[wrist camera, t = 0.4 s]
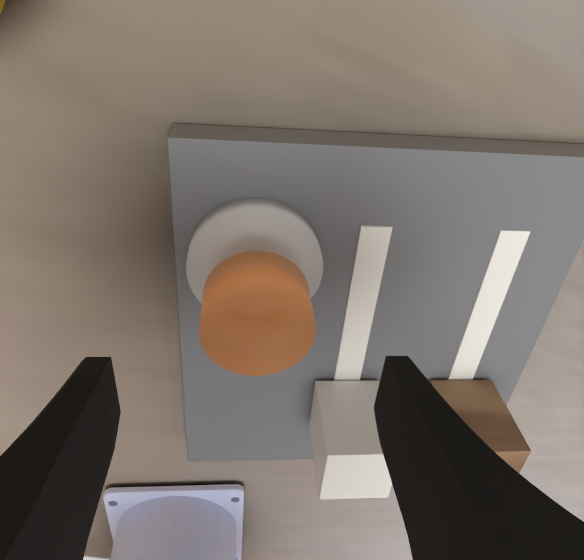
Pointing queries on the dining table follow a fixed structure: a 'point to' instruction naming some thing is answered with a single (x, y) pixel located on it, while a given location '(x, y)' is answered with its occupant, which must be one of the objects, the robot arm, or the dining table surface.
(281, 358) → the button orange
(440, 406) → the robot arm
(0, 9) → the lemon
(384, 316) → the panel
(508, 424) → the slider walnut
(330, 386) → the slider cream
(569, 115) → the dining table surface
